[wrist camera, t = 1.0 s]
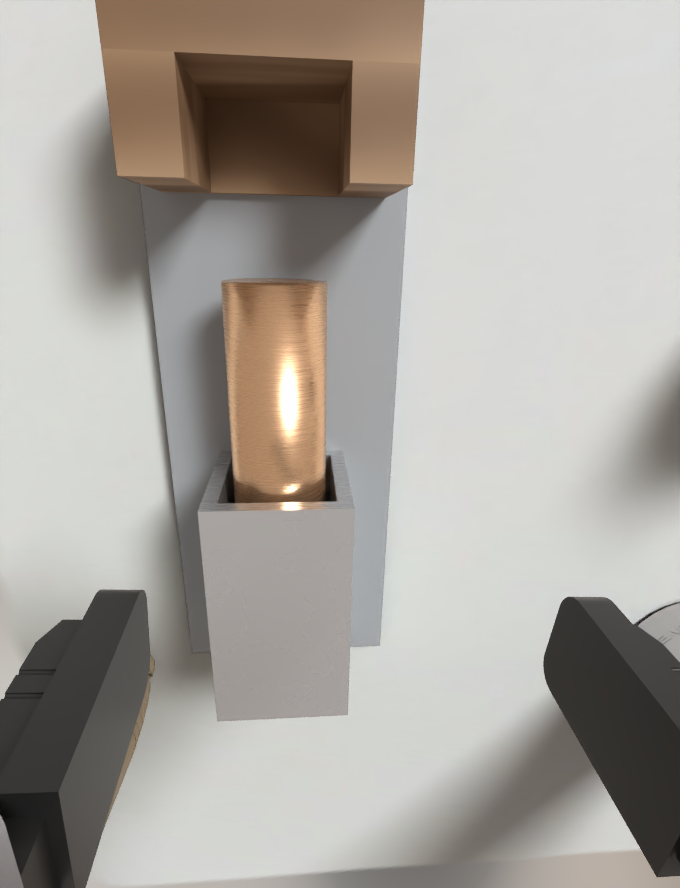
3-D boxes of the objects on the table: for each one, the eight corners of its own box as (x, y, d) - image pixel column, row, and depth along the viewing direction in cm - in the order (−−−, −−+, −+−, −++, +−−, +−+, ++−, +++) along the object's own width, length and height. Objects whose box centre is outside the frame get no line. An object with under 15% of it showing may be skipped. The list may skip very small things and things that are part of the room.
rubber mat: (377, 634, 34) (379, 645, 33) (194, 641, 33) (191, 653, 32) (415, -1, 22) (420, -12, 21) (123, -18, 21) (115, -30, 20)
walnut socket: (385, 198, 23) (412, 184, 18) (162, 191, 23) (117, 175, 17) (392, 38, 21) (426, -36, 16) (146, 25, 20) (88, -56, 15)
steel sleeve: (338, 625, 32) (347, 715, 26) (233, 629, 32) (217, 721, 26) (342, 450, 28) (354, 508, 22) (220, 451, 27) (197, 512, 21)
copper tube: (322, 598, 30) (325, 654, 26) (246, 600, 30) (238, 657, 26) (324, 278, 23) (330, 286, 19) (228, 277, 23) (212, 284, 19)
